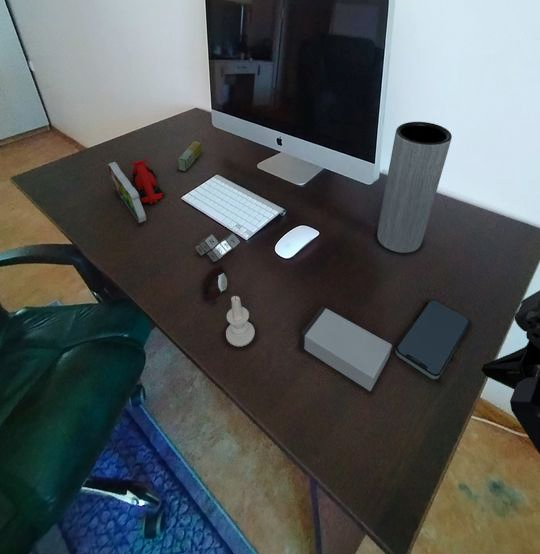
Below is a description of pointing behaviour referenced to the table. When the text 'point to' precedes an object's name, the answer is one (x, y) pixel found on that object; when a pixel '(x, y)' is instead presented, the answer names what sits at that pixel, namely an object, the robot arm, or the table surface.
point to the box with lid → (346, 347)
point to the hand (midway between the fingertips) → (484, 370)
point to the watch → (221, 282)
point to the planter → (412, 184)
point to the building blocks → (216, 246)
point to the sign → (127, 192)
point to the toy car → (145, 182)
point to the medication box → (189, 156)
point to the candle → (239, 324)
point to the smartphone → (432, 339)
